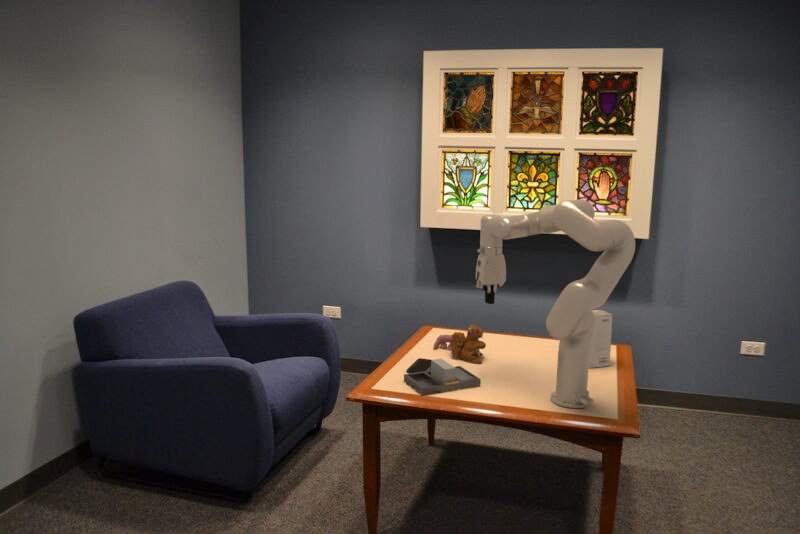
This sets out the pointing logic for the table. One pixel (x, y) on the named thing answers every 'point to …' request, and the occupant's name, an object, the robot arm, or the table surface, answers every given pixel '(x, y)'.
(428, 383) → the gray divided tray
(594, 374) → the table surface
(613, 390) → the table surface
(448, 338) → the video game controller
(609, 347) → the grey carton box
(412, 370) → the phone
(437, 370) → the gray rectangular block
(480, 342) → the stuffed squirrel
